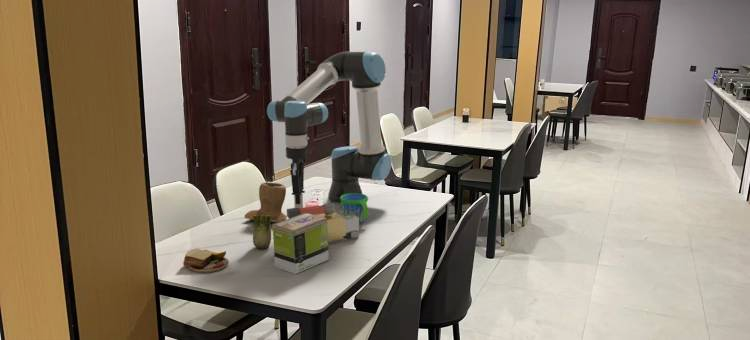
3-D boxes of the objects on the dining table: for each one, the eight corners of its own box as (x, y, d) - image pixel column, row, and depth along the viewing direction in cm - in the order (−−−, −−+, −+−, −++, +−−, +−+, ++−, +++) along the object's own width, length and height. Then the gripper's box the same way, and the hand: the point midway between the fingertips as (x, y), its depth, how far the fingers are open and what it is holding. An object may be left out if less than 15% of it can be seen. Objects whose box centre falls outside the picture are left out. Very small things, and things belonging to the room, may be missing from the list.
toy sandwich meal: (213, 276, 183) (212, 262, 182) (177, 270, 188) (176, 256, 187) (236, 262, 195) (235, 248, 193) (201, 256, 199) (200, 243, 198)
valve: (296, 242, 211) (295, 215, 209) (351, 232, 222) (351, 206, 219) (304, 249, 205) (303, 220, 203) (360, 238, 216) (360, 210, 214)
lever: (332, 209, 214) (331, 202, 213) (336, 213, 210) (336, 206, 209) (286, 215, 207) (286, 208, 207) (289, 219, 203) (289, 211, 203)
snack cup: (376, 225, 230) (376, 199, 228) (352, 229, 225) (352, 203, 223) (356, 214, 243) (356, 190, 241) (333, 218, 238) (332, 193, 236)
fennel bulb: (273, 247, 207) (271, 214, 204) (263, 251, 203) (262, 217, 200) (260, 244, 210) (258, 211, 207) (250, 248, 206) (249, 215, 203)
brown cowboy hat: (292, 217, 239) (291, 181, 235) (278, 226, 228) (276, 188, 225) (259, 213, 244) (258, 177, 241) (243, 222, 233) (241, 184, 230)
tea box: (307, 253, 201) (306, 211, 198) (329, 260, 195) (328, 217, 192) (273, 267, 190) (271, 222, 186) (295, 275, 184) (294, 229, 180)
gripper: (304, 150, 199) (306, 217, 205) (310, 142, 212) (312, 206, 218) (281, 150, 200) (284, 217, 206) (289, 142, 213) (292, 206, 218)
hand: (298, 211), depth 212 cm, fingers closed
